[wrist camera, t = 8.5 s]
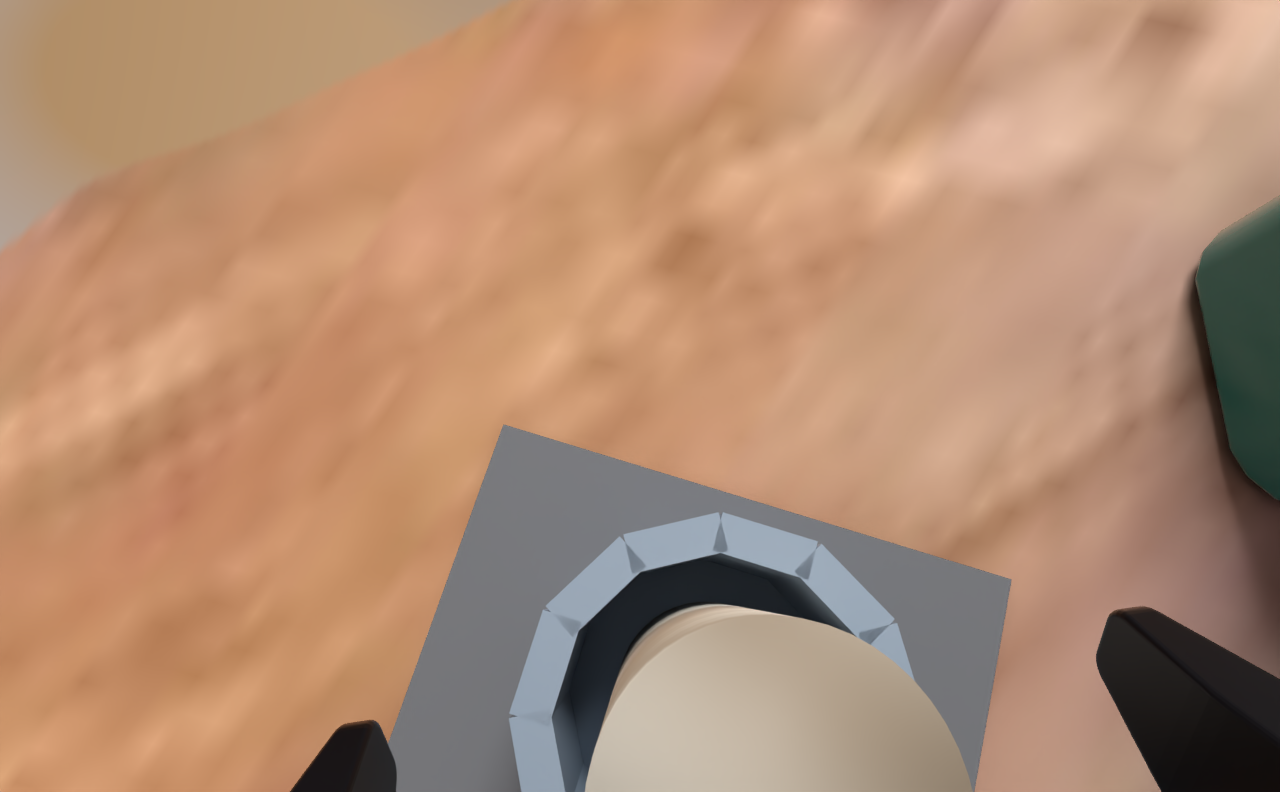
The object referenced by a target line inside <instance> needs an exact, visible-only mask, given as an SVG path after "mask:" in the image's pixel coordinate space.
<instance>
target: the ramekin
mask: <svg viewBox="0 0 1280 792" xmlns="http://www.w3.org/2000/svg"><path fill="white" fill-rule="evenodd" d="M623 535H624V539H625V542H624V540H623V539H622V538H621V537H620V536H619V537H618V538H617V539H616V540H615V541H614V542H613V543H612V544H611V545H610V546H609V547H608V548H607V549H606V550H605V551H603V552H602V553H601V554H600V555H599V556H598V557H597V558H596V559H595V560H594V561H593V562H592V563H591V564H590V565H589V566H588V567H586V568H585V569H584V570H583V571H582V572H581V573H580V574H579V575H578V576H577V577H576V578H575V579H574V580H573V581H572V582H570V583H569V584H568V585H567V586H566V587H565V588H564V589H563V590H562V591H561V592H560V593H559V594H558V595H557V596H556V597H554V598H553V599H552V600H551V601H550V602H549V603H548V604H547V605H546V607H547V608H548V609H544V610H543V611H542V614H541V617H540V620H539V624H538V627H537V630H536V633H535V636H534V639H533V642H532V645H531V648H530V651H529V654H528V657H527V660H526V663H525V666H524V669H523V672H522V676H521V679H520V682H519V685H518V688H517V691H516V694H515V697H514V700H513V703H512V706H511V709H510V712H509V714H512V716H511V717H510V718H509V722H510V728H511V734H512V740H513V746H514V752H515V757H516V763H517V769H518V775H519V781H520V786H521V792H585V786H586V781H587V776H588V772H589V768H590V764H591V760H592V756H593V753H594V749H595V746H596V743H597V740H598V737H599V733H600V730H601V727H602V724H603V721H604V717H605V714H606V711H607V708H608V705H609V701H610V698H611V695H612V692H613V689H614V685H615V682H616V679H617V676H618V672H619V669H620V666H621V663H622V661H623V658H624V656H625V653H626V652H627V650H628V648H629V646H630V644H631V643H632V641H633V640H634V638H635V637H636V636H637V634H638V633H639V632H640V631H641V630H642V629H643V628H644V627H645V625H647V624H648V623H649V622H650V621H651V620H653V619H654V618H655V617H657V616H658V615H660V614H662V613H663V612H665V611H667V610H669V609H672V608H674V607H676V606H680V605H683V604H687V603H693V602H716V603H723V604H728V605H734V606H739V607H744V608H750V609H755V610H760V611H766V612H771V613H776V614H782V615H787V616H792V617H798V618H803V619H807V620H811V621H815V622H819V623H823V624H827V625H830V626H832V627H835V628H837V629H840V630H842V631H845V632H847V633H850V634H852V635H854V636H855V637H857V638H859V639H861V640H863V641H864V642H866V643H868V644H870V645H872V646H873V647H875V648H876V649H878V650H879V651H880V652H882V653H883V654H884V655H886V656H887V657H888V658H890V659H891V660H893V661H894V662H895V663H896V664H897V665H898V666H899V667H900V668H901V669H903V670H904V671H905V672H906V673H907V674H908V675H909V676H910V677H911V678H912V679H913V680H914V677H913V674H912V670H911V667H910V664H909V660H908V657H907V654H906V650H905V647H904V644H903V641H902V637H901V634H900V631H899V627H898V624H897V623H893V621H894V618H893V617H892V616H891V615H890V614H889V613H888V612H887V610H886V609H885V608H884V607H883V606H882V605H881V604H880V603H879V602H878V601H877V600H876V599H875V598H874V597H873V596H872V595H871V594H870V593H869V592H868V591H867V590H866V589H865V588H864V587H863V586H862V585H861V584H860V583H859V582H858V581H857V580H856V579H855V578H854V577H853V576H852V575H851V573H850V572H849V571H848V570H847V569H846V568H845V567H844V566H843V565H842V564H841V563H840V562H839V561H838V560H837V559H836V558H835V557H834V556H833V555H832V554H831V553H830V552H829V551H828V550H827V549H826V548H825V547H824V546H823V545H822V544H818V545H817V543H818V541H815V540H812V539H808V538H805V537H802V536H799V535H795V534H792V533H789V532H786V531H782V530H779V529H776V528H773V527H769V526H766V525H763V524H760V523H756V522H753V521H750V520H747V519H743V518H740V517H737V516H734V515H730V514H727V513H724V512H723V513H721V514H720V515H719V512H717V513H713V514H709V515H704V516H700V517H696V518H691V519H687V520H683V521H678V522H674V523H670V524H666V525H661V526H657V527H653V528H648V529H644V530H640V531H635V532H631V533H627V534H623ZM914 681H915V680H914Z"/></svg>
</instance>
